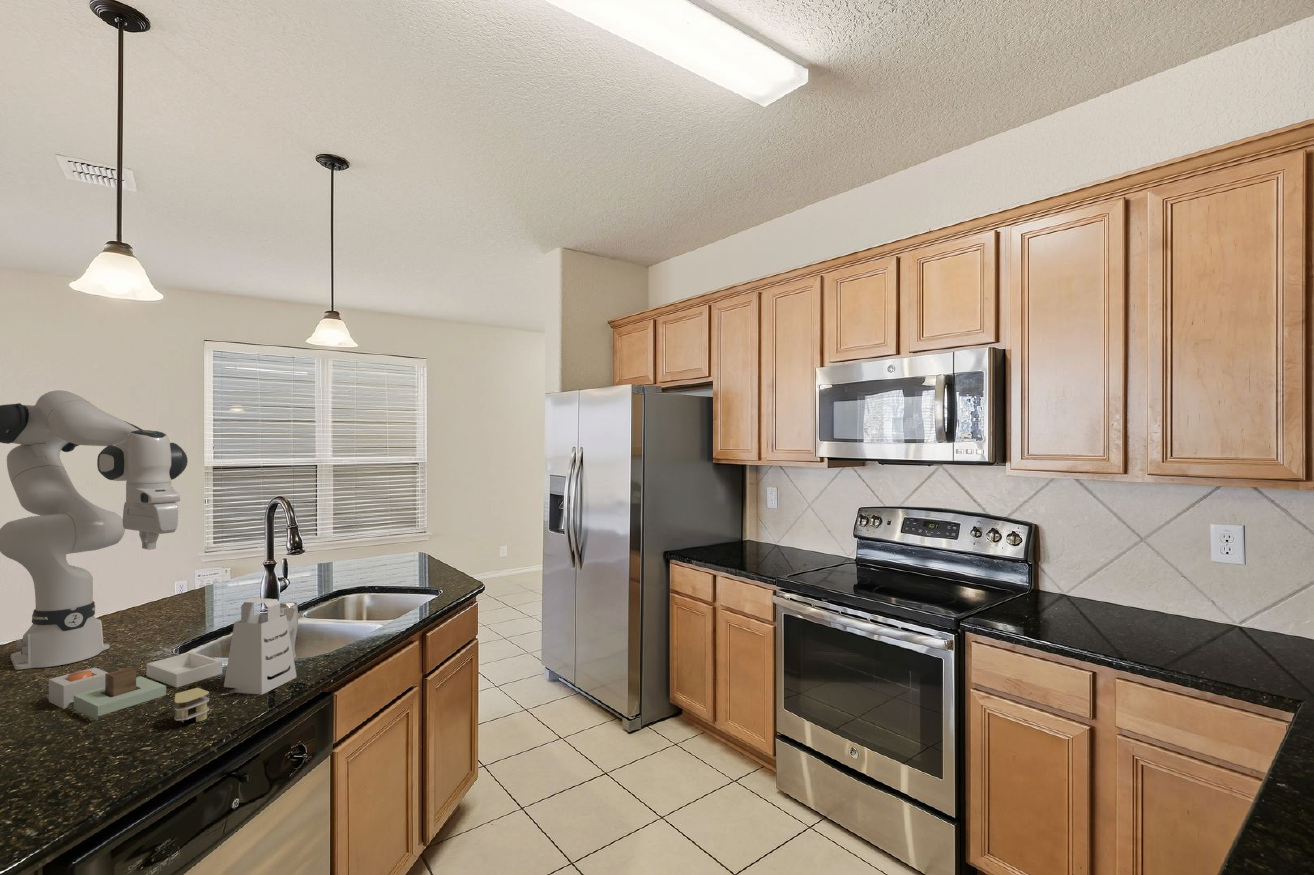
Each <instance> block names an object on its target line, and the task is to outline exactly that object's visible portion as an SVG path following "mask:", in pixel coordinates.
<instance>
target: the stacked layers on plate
mask: <svg viewBox="0 0 1314 875" xmlns="http://www.w3.org/2000/svg"><path fill="white" fill-rule="evenodd" d="M208 694H210V691H208V690H205V689H203V688H200V687H195V688H191V689H188V690H184V691H179V692H176V693H175V694H174V710H175V711H174V718H173V719H174V720H175V721H176V722H177V721H180V722H182V723H183V724H184V722H185V721H187V720H189V719H192V720H195V722H196V723H198V722H202V721H204V720H207V718H208V712H209V710H210V707H209V706H208V702H209V701H210V697H208V696H207V695H208Z"/></svg>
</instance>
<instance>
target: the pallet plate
mask: <svg viewBox="0 0 1314 875" xmlns="http://www.w3.org/2000/svg"><path fill="white" fill-rule="evenodd" d="M166 695H167V685H166V684H165V685H164V684H162V683H159V682H158V681H156V680H152V679H148V678H146V677H144V676H141V675H140V676H136V690H135V691H131V692H128V693H124V694H121V695H118V696H114V697H111V698H110V697H108V696H106V695H105V687H101V688H98V689H94V690H90V691H87V692H83V693H80V694H76V695H74V702H73V705H74V706H73V710H74V711H77V712H78V713H81V714H83V715H85V716H88V717H89V718H91V719H94V720H95V721H97V722H98V721H102V720H103V718H102V717H100V716H104V715H107V714H109V713H113V712H117V711H119V710H122V709H125V708H129V707H132V706H135V705H139V704H142V703H146V702H148V701H152V700H155V699H157V698H158V699H159V698H161V697H164V696H166Z"/></svg>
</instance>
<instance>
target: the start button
mask: <svg viewBox="0 0 1314 875" xmlns="http://www.w3.org/2000/svg"><path fill="white" fill-rule="evenodd" d="M69 674H70V675H68V681H70V682H72V681H76V680H79V679H83V678H87V677H91V676H92V671H83V670H80V672H79V671H76V673H75V672H72V674H71V673H69Z"/></svg>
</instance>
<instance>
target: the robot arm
mask: <svg viewBox="0 0 1314 875" xmlns="http://www.w3.org/2000/svg"><path fill="white" fill-rule="evenodd" d="M1 443H2V444H9V445H10V444H16V445H17V446H15V447H14V448H12V449H10V451H9V452H8V453H7V455H6V468H7V474H8V476H9V480H10V482H11V485H12V488H13V490H14V491H15V492H14V493H15V494H16V497H17V500H18V501H19V504H20V506H21V507H22V508H23V509H24V510H25V511H27V512H28V513H31V514H33V515H34V516H33V515H32V516H28V517H23V518H19V519H16V520H10V521H8V522H6V523H4V525H2V526H1V527H0V553H1V554H2V555H3V556H4V557H6V558H8V559H10V560H13V561H15V562H17V563H18V564H20V565H21V566H22V567H24V569H26V571H27V572H29V575H30V576H31V579H32V581H33V587H34V596H35V598H34V599H35V600H34V601H35V609H33V610H32V611H33V612H32V615H31V626H30V627H29V628H28V629H27V631H25V632H24V634H23V635H22V638H20V639H16V640H15V644H14V645H15V649H17V650H18V649H22V650H19V651H16V652H14V653H11V654H10V661H11V662H12V665H13V668H14V670H15V671H17V670H18V671H19V670H26V669H35V668H49V667H58V666H61V665H62V666H63V665H68V664H69V665H70V664H72V663H73V664H74V663H76V662H81V661H84V660H87V659H90V658H93V657H95V656H97V655H99V654H101V652H103V651H106V650H108V649H110V644H109V643H104V636H103V625H102V620H101V619H99V618H96V617H95V614H96V605H95V601H94V598H93V596H94V594H93V593H94V592H93V591H94V586H93V584H94V583H93V580H94V578H93V575H92V574H91V572H90V571H88V570H87V569H85V568H82V567H80V566H75V565H72V564H71V565H70V564H69V562H68V560H67V555H70V554H75V553H77V554H78V553H84V552H92V551H98V550H101V549H105V548H109V547H111V546H114V545H116V544H118V543H119V542H120V541H121V540H122V539H123V537H124V535H125V533H126V532H125V531H126V530H131V531H135V532H136V531H138V533H139V538H140V541H141V548H142V549H143V550H148V551H149V550H155V549H156V548H157V541H158V539H159V536H160V535H162V534H171V533H175V532H176V531H177V528H178V524H179V523H178V522H179V505H178V502H180V501H181V494H180V492H178V491H177V490H176V489H175V488H174V487H173V486H172V480H175V479H176V478H178V477H179V476H180V475H182V474H183V472H184V471H185V469H186V468H187V466H188V456H187V453H186V452H185V450H183V448H182V447H181V446H179V445H178V444H177V443H175V442H170V439H169V437H168V434H166V433H164V432H162V431H159V430H150V429H149V430H147V429H142V428H141V427H138V426H136V425H134V424H132V423H130V422H128V421H125V420H123V419H121V418H119V417H116V416H114V415H112V414H110V413H108V412H106V411H104V410H102V409H100V408H99V407H97V406H96V405H94V404H93V403H91V402H90V401H88V400H87V399H86V398H84V397H82V396H80V395H78V394H76V393H73V392H71V391H67V390H60V389H59V390H58V389H57V390H52V391H48V392H46V393H44V394H42V395H41V396H39V398H38V399H37V401H36V403H35V404H34V405H31V404H22V403H20V402H19V403H9V404H8V403H7V404H1V405H0V444H1ZM79 446H88V447H89V446H93V447H95V446H96V447H104V448H103V449H102V450H101V451H100V452H99V453H98V455H97V459H96V460H97V463H96V464H97V465H96V466H97V470H98V472H99V473H100V474H101V475H102V476H103V477H104V478H105V479H107V480H109V481H116V482H122V481H124V482H125V502H124V504H123V510H122V511H123V513H122V516H121V515H120V514H118V513H117V512H115V511H110V510H108V509H104V508H101V507H100V506H98V505H95V504H93V502H91V501H89V500H88V499H86V498H85V497H84V496H82V495H81V494H80V493H79V492H78V490H77V489H76V487H75V486H74V484H73V482H72V481H71V478H70V476H69V474H68V472H67V470H66V469H65V466H64V464H63V462H62V460H61V456H60V455H61V452H64V453H69V452H72V451H74V450H75V448H76V447H79Z"/></svg>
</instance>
